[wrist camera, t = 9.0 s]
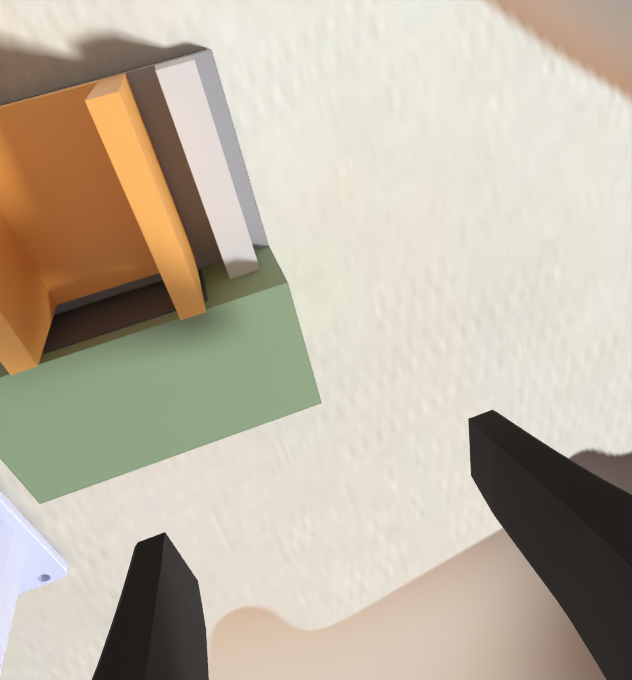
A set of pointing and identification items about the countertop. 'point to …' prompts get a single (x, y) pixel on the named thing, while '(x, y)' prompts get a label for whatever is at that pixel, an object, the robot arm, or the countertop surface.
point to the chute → (82, 211)
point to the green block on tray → (165, 320)
